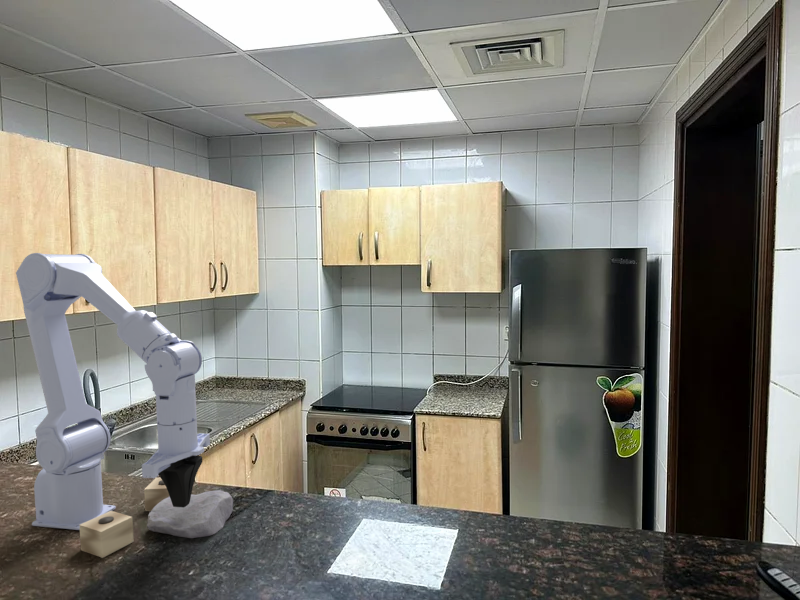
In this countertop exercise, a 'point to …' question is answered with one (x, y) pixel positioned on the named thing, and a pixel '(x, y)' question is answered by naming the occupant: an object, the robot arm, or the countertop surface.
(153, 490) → the beech block
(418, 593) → the countertop surface
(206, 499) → the stone block
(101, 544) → the beech block
